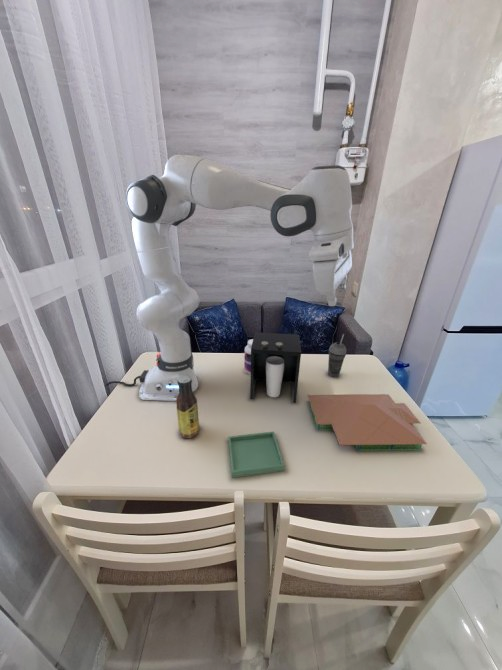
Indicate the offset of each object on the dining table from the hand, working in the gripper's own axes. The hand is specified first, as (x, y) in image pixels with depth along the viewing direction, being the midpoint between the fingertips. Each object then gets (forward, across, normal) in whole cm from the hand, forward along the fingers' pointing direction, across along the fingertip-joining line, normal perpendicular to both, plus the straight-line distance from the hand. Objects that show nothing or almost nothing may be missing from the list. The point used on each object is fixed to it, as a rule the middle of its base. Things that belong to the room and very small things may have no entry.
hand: (337, 297), depth 68 cm
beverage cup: (+47, -26, -12) cm, 55 cm away
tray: (+38, +27, -19) cm, 50 cm away
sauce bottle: (+33, +30, -41) cm, 61 cm away
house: (+46, -2, +4) cm, 47 cm away
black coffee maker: (+40, -3, -29) cm, 50 cm away
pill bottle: (+39, -11, -42) cm, 59 cm away
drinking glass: (+40, -1, -28) cm, 49 cm away
